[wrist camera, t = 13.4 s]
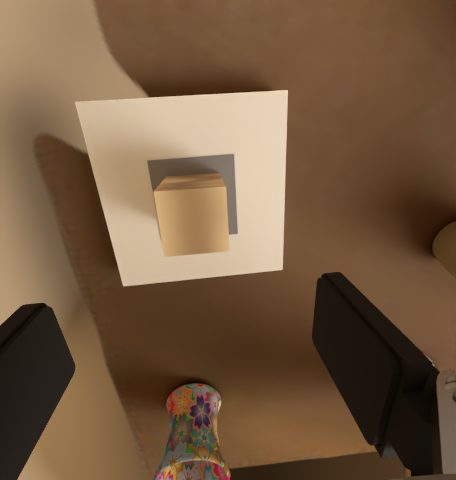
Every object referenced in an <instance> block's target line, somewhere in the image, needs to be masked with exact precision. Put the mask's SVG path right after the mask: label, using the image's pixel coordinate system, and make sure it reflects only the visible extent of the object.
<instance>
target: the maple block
mask: <svg viewBox="0 0 456 480" xmlns="http://www.w3.org/2000/svg"><path fill="white" fill-rule="evenodd" d="M154 198H155V204H156V210H157V216H158V222H159V228H160V234H161V240H162V246H163V251H164V257H170V256H181V255H192V254H203V253H215V252H226V251H230V248H229V229H228V211H227V193H226V185H225V183H224V181H223V179H222V177H221V175H220V173H208V174H194V175H179V176H166V177H165V179H164V180H163V181H162V182H161V183H160V184H159V186H158V187H157V188H156V189H155V190H154Z"/></svg>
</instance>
